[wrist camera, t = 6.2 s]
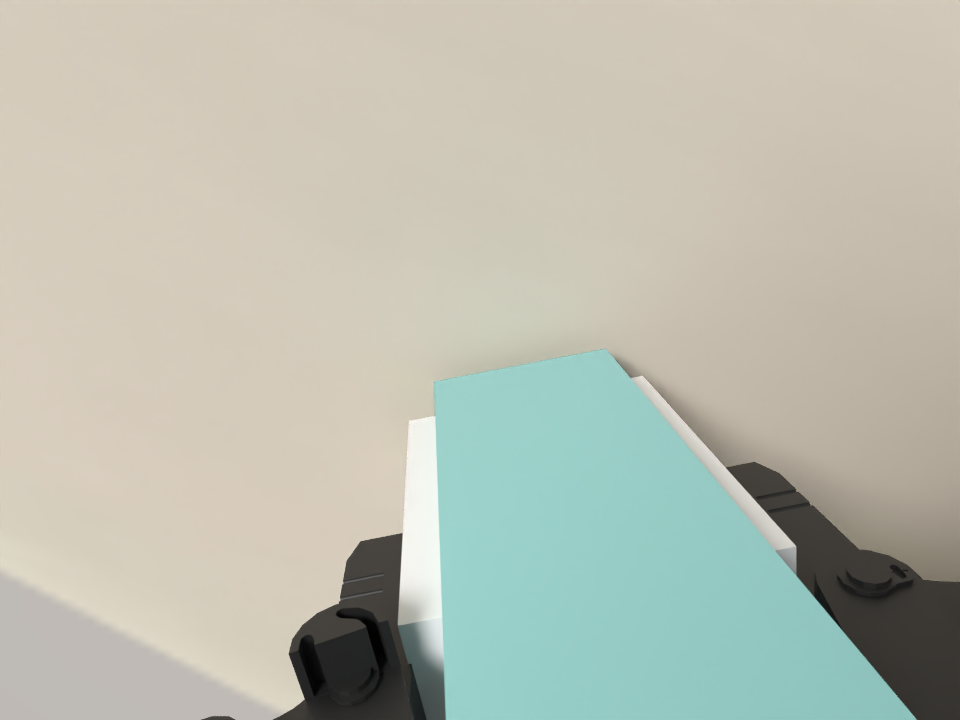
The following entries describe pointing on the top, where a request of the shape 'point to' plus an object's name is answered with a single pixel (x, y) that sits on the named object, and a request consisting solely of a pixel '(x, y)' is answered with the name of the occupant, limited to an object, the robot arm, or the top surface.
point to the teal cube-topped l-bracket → (615, 567)
